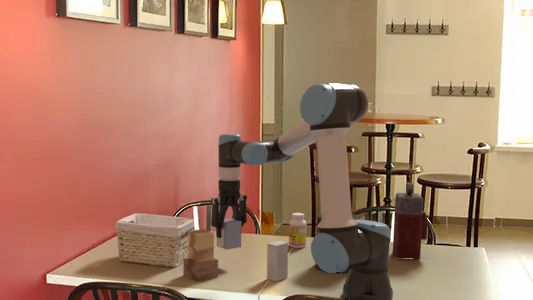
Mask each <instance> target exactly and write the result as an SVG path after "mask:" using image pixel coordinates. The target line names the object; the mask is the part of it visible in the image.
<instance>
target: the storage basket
mask: <svg viewBox="0 0 533 300" xmlns="http://www.w3.org/2000/svg"><path fill="white" fill-rule="evenodd" d="M194 226H195V220H194V219H193V218H187V217H179V216H169V215H158V214H153V213H152V214H150V213H136V212H135V213H133V214H131V215H128V216H125V217H123V218H121V219H119V220H117V221H116V222H115V227H114V228H115V230H116V236H117V251H118V259H119V261H121V262H126V263H135V264H144V265H150V266H155V267H158V266H159V267H161V266H162V267H165V268H169V267H171V268H176V267H179V266H180V265H182V264H184V258H188V257H189V231H193V228H194Z"/></svg>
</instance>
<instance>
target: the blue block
mask: <svg viewBox="0 0 533 300" xmlns="http://www.w3.org/2000/svg"><path fill="white" fill-rule="evenodd" d="M222 228H224V247H223V248H222V247H219V246H218V237H216V246H217V248H221V249H224V250H234V249H239V248H242V234H241V221H238V220H235V218H227V219H226V218H225V219H224V223H223V226H222Z"/></svg>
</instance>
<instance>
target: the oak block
mask: <svg viewBox="0 0 533 300" xmlns="http://www.w3.org/2000/svg"><path fill="white" fill-rule="evenodd" d="M214 244H215V233H214V232H213V231H210V230H208V229H206V228H203V229H196V230H194V229H193V230H192V231H189V248H188V249H189V258H190V259H191V260H193V261H195V262H204V261H210V260H214V256H215V255H214V254H215V253H214V252H215V251H214V250H215V249H214V248H215V247H214V246H215V245H214Z"/></svg>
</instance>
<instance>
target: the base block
mask: <svg viewBox="0 0 533 300" xmlns="http://www.w3.org/2000/svg"><path fill="white" fill-rule="evenodd" d="M182 276H183V277H185V278H188V279H191V280H192V281H195V282H203V281H206V280H207V281H208V280H211V279H215V278H218V277H219V259H217V258H214V260H210V261H204V262H195V261H193V260H191V259H190V258H189V257H188V258H184V262H183V275H182Z"/></svg>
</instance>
